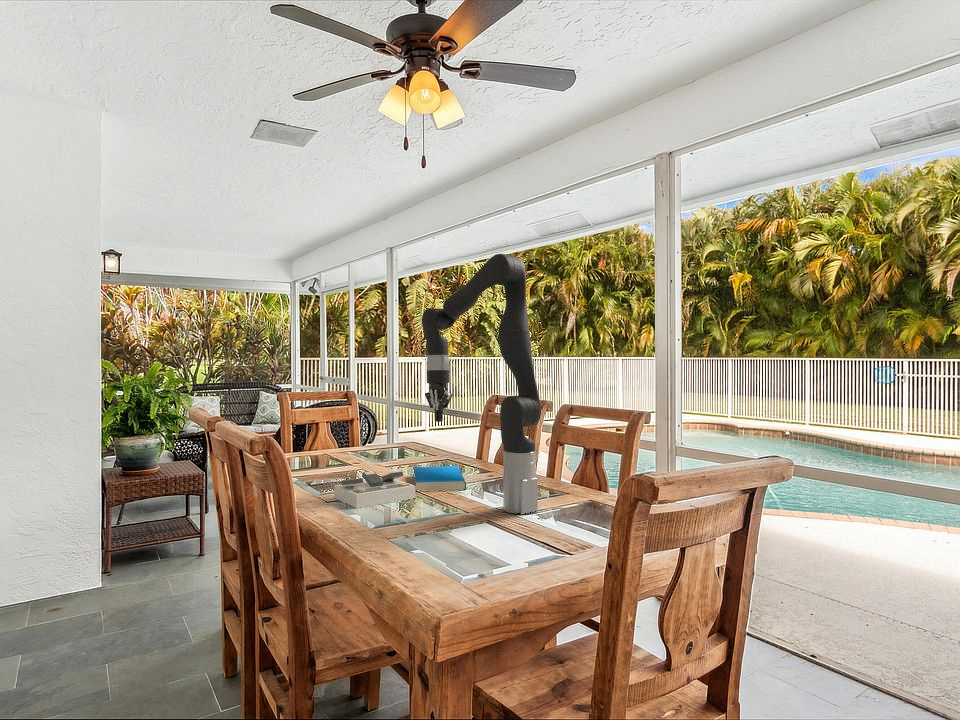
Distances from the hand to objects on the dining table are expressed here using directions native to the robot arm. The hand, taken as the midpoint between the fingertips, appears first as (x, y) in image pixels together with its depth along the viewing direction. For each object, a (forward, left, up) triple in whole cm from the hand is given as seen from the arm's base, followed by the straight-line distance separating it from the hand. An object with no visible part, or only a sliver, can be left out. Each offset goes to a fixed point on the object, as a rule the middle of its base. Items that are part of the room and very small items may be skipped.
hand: (438, 421), depth 196 cm
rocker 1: (+6, +28, -17) cm, 33 cm away
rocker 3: (+6, +14, -17) cm, 23 cm away
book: (+11, -7, -24) cm, 28 cm away
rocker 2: (+6, +21, -17) cm, 28 cm away
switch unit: (+4, +21, -23) cm, 32 cm away
